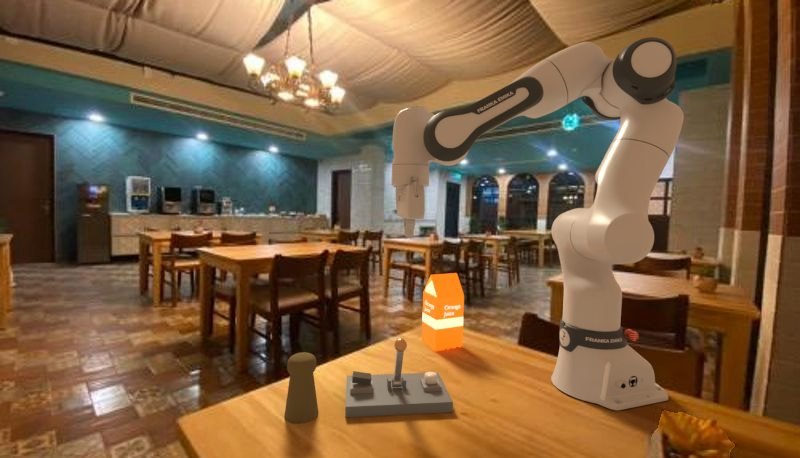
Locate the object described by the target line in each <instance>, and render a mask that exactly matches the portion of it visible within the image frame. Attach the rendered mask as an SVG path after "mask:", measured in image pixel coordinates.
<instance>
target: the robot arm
mask: <svg viewBox="0 0 800 458" xmlns="http://www.w3.org/2000/svg"><path fill="white" fill-rule="evenodd" d="M677 60H678V59H677V54H676V51H675V49H674V48H673V46H672V45H671V43H669V42H668V41H667V40H665V39H664V38H661V37H655V36H654V37H653V36H651V37H644V38H640V39H638V40H636V41H634V42H632V43H630V44H628V45H627V46H626V47H624V48H623V49H622V50H621V51H620V52H619V53H617V56H616V57H615V58H610V57H609V56H607V55H606V54H605V53H604V51H603V49H602V47H600V46H599V45H598V44H596V43H594V42H592V41H583V42H579V43H576V44H573V45H572V46H568V47H566V48H564V49H562V50H560V51H557V52H555V53H553V54H552V55H550V56H547V57H546V58H544V59H542V60H540V61H539V62H538V63H535V64H534V65H533V66H531V67H529V68H528V69H527V70H526V71H523V73H521V74H520V75H519V76H518V77H516V78H515V79H514V80H513V81H511V82H510V83H508V84H507V85H506V86H504V87H502V88H500V89H498V90H496V91H494V92H493V93H490V94H489V95H487V96H485V97H483V98H481V99H480V100H478V101H476V102H473V103H472V104H470V105H468V106H464V107H461V108H453V109H446V110H442V111H440V112H438V113H436V114H434V113H433V112H431V111H430V110H429V109H428V108H427V107H425V106H416V105H415V106H411V107H410V106H409V107H407V108H404V109H402V110H400V111H399V112H398V113H397V114H396V116H395V118H394V122H393V129H392V140H391V141H392V144H391V147H392V151H393V158H392V161H391V162H392V163H391V186H393V188H394V189H395V206H396V213H397V217H401V218H403V219H402V220H403V227H404V232H403V233H404V237H406V238H409V239H410V238H413V237H414V231H415V225H416V220H423V219H424V217H425V210H426V209H425V206H426V205H425V203H426V202H425V201H426V199H425V197H426V196H425V188H426V187H429V186H430V164H431V163H435V164H439V165H443V166H448V167H450V166H454V165H455V166H456V165H457V164H459V163H461V162H462V161H463V160H464V159H466V157H467V155H468V153H469V151H470V149H471V148H472V146H473V144H474V143H475V142H476V141H477V140H478V139H479V138H480V137H481V136H483V135H484V134H486V133H488V132H490V131H493V129H496V128H497V127H499V126H501V125H504V124H505V123H507V122H508V121H511V120H512V119H515V118H517V117H522V116H524V117H526V118H529V119H538V118H541V117H544V116H547V115H549V114H551V113H554V112H556V111H558V110H560V109H561V108H563V107H565V106H567V105H569V104H570V103H572V102H574V101H576V100H577V99H579V98H581V101H582V102H583V103H584V104H585V105H586V106H587V107H588V108H589V109H590V111H591V112H592V113H593V114H594V115H595V116H596V117H598V118H599V119H601V120H604V121H610V122H611V121H618V120H620V121H619V122H620V123H619V128H618V131H617V133H616V135H615V136H614V137H613V140H612V141H611V143H610V145H609V147H608V149H607V150H606V153H605V155H604V157H603V159H602V161H601V163H600V165H599V166H598V168H597V170H596V171H595V176H594V179H595V183H596V185H597V186H596V193H595V198H594V200H593V203H592V205H591V206H590V207H578V208H577V207H576V208H572V209H570V210H567V211H565V212H563V213H560V214H559V215H558V216H557V217H556V218H555V219H554V221H553V222H552V225H551V229H550V231H551V237H552V240H553V242H554V244H555V245H556V248H557V252H558V257H559V262H560V267H561V274H562V280H563V299H562V302H563V303H562V317H561V318H560V321H559V332H558V334H559V335H558V337H559V350H558V354H557V359H556V363H555V366H554V370H553V373H552V375H551V377H550V379H551V383H552V384H553V386H555V388H557V389H558V390H560V391H561V392H563V393H565V394H567V395H569V396H570V397H573V398H576V399H579V400H581V401H584V402H585V401H586V402H589V403H593V404H597V405H600V406H602V407H604V408H607V409H610V410H613V411H622V410H623V411H624V410H627V409H631V408H638V407H641V406H642V407H643V406H647V405H651V404H657V403H662V402H667V401H669V395H668V392H667V391H666V390H665V389H664V388H663V387H661V386H660V385H659V384H658V383H656V377H655V371H654V369H653V366H652V364H651V363H650V362H649V361H648V360H646V359H645V358H644V357H643V356H642V355H640V353H638V351H636V350H635V349H633V347H631V346H630V345H629V344H628V341H627V339H629V340H630V341H633V342H637V341H638V340H639V337H640V336H639V333H638V331H635V330H632V329H630V328H627V329H625V328H624V327H623V326H621V320H622V319H621V318H622V317H621V316H622V306H623V305H622V304H623V293H622V289H621V286H620V284H619V283H618V282H617V280H616V277H615V276H614V272H613V270H612V265H627V264H628V265H629V264H635V263H638V262H640V261H641V260H644V259H645V258H646V257H647V256H648V255H649V253H650V252H651V251H652V249H653V246H654V242H655V232H654V229H653V228H654V227H653V226H652V224H651V222H650V221H649V207H650V202H651V198H652V194H653V192H654V189H655V187H656V186H657V183H658V181H659V179H660V178H661V176H662V174H663V171H664V169H665V167H666V165H667V163H668V162H669V160H670V158H671V156H672V154H673V151H674V149H675V148H676V145H677V142H678V139H679V137H680V134H681V132H682V128H683V123H684V119H685V117H684V112H683V110H682V109H681V107H680V106H679V105H678V104H677V103H674V102H673V101H670V100H669V99H668V97H669V96H670V95H671V94H672V93H673V92H674V90H675V89H676V79H675V75H676V72H677V66H678V65H677V64H678V63H677V62H678V61H677Z"/></svg>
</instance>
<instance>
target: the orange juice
mask: <svg viewBox="0 0 800 458" xmlns="http://www.w3.org/2000/svg"><path fill="white" fill-rule="evenodd" d="M462 287H463V286H462V285H461V281H460V278H459V275H458V273H457V272H453V273H452V272H451V273H435V274H430V276H429V278H428V280H427V283H426V285H425V288H424V290H423V292H422V294H423V295H422V315H421V318H422V319H421V322H422V324H421V325H422V327H421V342H422V343H423V344H424V343H425V344H424V345H426V346H427V347H428V346H429V347H428V348H429V349H431V350H432V351H433V352H440V351H445V349H447V350H451V349H450V348H453V349H457V348H456V347H459V348H462V347H463V340H464V339H463V338H464V337H463V334H464V332H463V331H464V314H465V313H464V312H465V311H464V308H465V294H464V291H463V288H462ZM461 346H462V347H461Z"/></svg>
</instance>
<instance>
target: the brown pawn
mask: <svg viewBox="0 0 800 458" xmlns="http://www.w3.org/2000/svg"><path fill="white" fill-rule="evenodd" d="M286 369H287V370H286V371H287V372H288V374H289V381H288V390H287V394H286V403H285V411H284V418H285V419H284V420H286V421H287V422H289V423H292V424H303V423H308V422H310V421H312V420H314V419H315V418H316V417H317V416H318V415H319V407H318V406H319V405H318V399H317V392H316V391H317V390H316V383H315V375H314V372H315V371H316V369H317V359H316V356H315V355H314V354H312V353H310V352H305V351H304V352H297V353H294V354H292V355H290V356H289V359H288V360H287V364H286Z"/></svg>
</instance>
